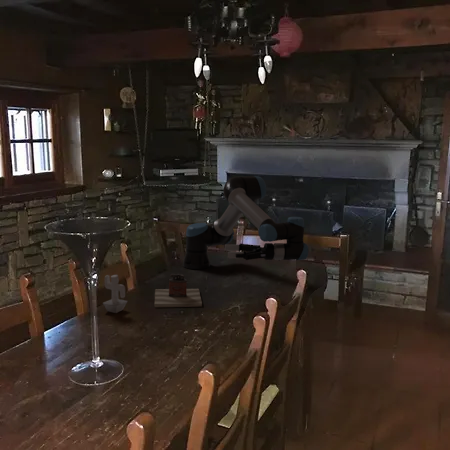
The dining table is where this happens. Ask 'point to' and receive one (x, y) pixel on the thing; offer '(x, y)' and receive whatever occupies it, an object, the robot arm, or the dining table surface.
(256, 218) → the robot arm
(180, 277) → the lighter
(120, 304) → the figurine
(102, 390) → the dining table surface
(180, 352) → the dining table surface
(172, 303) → the board
